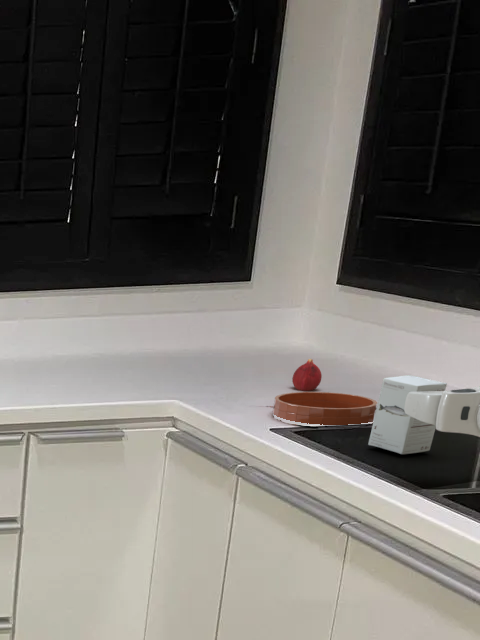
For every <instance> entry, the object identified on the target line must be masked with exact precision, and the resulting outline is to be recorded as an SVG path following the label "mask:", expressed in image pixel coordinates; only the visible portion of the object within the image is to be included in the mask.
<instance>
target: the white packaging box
mask: <svg viewBox="0 0 480 640" xmlns="http://www.w3.org/2000/svg"><path fill="white" fill-rule="evenodd" d="M447 386H448V383H447V382H444V381H443V382H442V381H439V380H435V379H429V378H426V377H425V378H424V377H420V376H416V375H411V374H410V375H399V376H390V377H384V378H383V380H382V384H381V388H380V392H379V396H378V400H377V409H376V413H375V417H374V422H373V424H372V425H371V432H370V435H369V439H368V444H367V445H368V446H371V447H377V448H380V449H383V450H387V451H390V452H394V453H397V454H400V455H409V454H417V453H424V452H429V451H430V450H431V446H432V443H433V440H434V436H435V431H436V425H432V424H428V423H424V422H422V421H419V420H417V419H415V418H412V417H410V416H408V415H407V414H406V413H405V411H404V407H405V401H406V397H407V395H408V393H409V392H412V391H446V389H447Z"/></svg>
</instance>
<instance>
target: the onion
mask: <svg viewBox="0 0 480 640" xmlns="http://www.w3.org/2000/svg"><path fill="white" fill-rule="evenodd" d="M313 361H314V360H313V359H312V358H308V359H307V361H306V362H305V363H303V364H301V365H300V366H299V367H297V368H296V370H294V372H293V375H292V378H291V379H292V381H291V382H292V385H293V386H294V388H295V389H296V390H298V391H301V392H313V391H314V390H315V389H317V388H318V387H319V386H320V384H321V382H322V378H323V377H322V376H323V375H322V371H321V370H320V367H318V365H316V364H315V363H314V362H313Z"/></svg>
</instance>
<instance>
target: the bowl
mask: <svg viewBox="0 0 480 640" xmlns="http://www.w3.org/2000/svg"><path fill="white" fill-rule="evenodd" d="M377 404H378V401H377V400H375V399H373V398H370V397H366V396H363V395H358V394H352V393H351V394H350V393H343V392H342V393H341V392H329V391H327V392H326V391H296V392H287V393H282V394H278V395H276V396H275V397H274V400H273V407H272V408H273V409H272V415H273V414H274V415H276V416H277V417H280V418H283V419H286V420H290V421H295V422H301V423H307V424H308V423H309V424H320V425H322V424H323V425H348V424H361V423H368V422H373V421H374V417H375V413H376V409H377Z"/></svg>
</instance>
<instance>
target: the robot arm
mask: <svg viewBox="0 0 480 640" xmlns="http://www.w3.org/2000/svg"><path fill="white" fill-rule="evenodd" d="M404 411H405V413H406V414H407V415H408V416H410V417H412V418H415V419H417V420H419V421H422V422H424V423H428V424H432V425H436V428H435V431H438V432H440V433H441V432H443V433H451V434H462V435H471V436H475V437H478V438H480V385H478V386H473V387H469V388H461V389H451V390H445V391H412V392H409V393H408V395H407V397H406V401H405V407H404Z"/></svg>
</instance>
